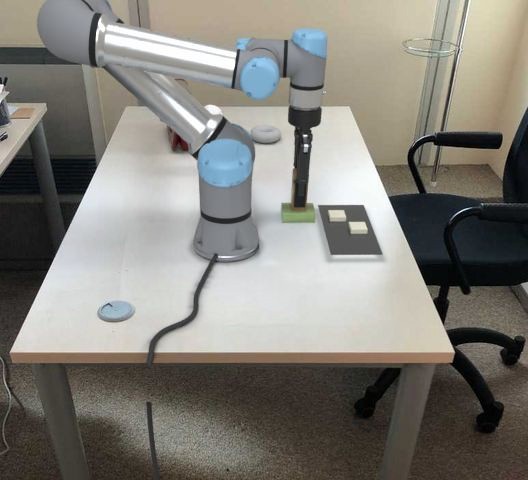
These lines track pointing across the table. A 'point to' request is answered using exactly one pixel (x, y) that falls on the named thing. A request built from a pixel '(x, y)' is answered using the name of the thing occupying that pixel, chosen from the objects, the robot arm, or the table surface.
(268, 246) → the table surface
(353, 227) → the eraser
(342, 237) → the slate
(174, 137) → the handbag
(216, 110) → the white rounded ball
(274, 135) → the donut
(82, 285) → the table surface
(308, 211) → the scrub brush
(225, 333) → the table surface
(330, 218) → the eraser
